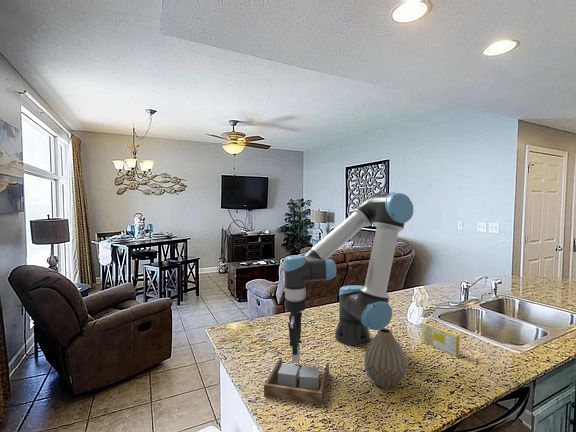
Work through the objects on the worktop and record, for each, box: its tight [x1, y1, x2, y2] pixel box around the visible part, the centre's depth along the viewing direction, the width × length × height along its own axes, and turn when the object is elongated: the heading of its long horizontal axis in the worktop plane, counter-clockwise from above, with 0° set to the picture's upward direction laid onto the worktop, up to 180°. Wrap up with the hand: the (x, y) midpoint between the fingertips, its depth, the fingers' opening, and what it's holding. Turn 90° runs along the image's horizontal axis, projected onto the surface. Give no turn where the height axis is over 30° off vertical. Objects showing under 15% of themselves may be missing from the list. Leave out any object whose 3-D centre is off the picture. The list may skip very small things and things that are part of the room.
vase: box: [363, 327, 407, 389], centre depth 102 cm, size 13×13×18 cm
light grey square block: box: [299, 366, 320, 390], centre depth 102 cm, size 6×6×4 cm
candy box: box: [421, 322, 461, 358], centre depth 127 cm, size 16×2×8 cm, turn 28°
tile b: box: [277, 363, 300, 388], centre depth 104 cm, size 6×6×4 cm
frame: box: [263, 356, 330, 406], centre depth 102 cm, size 18×18×4 cm
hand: (295, 361), depth 114 cm, fingers closed
